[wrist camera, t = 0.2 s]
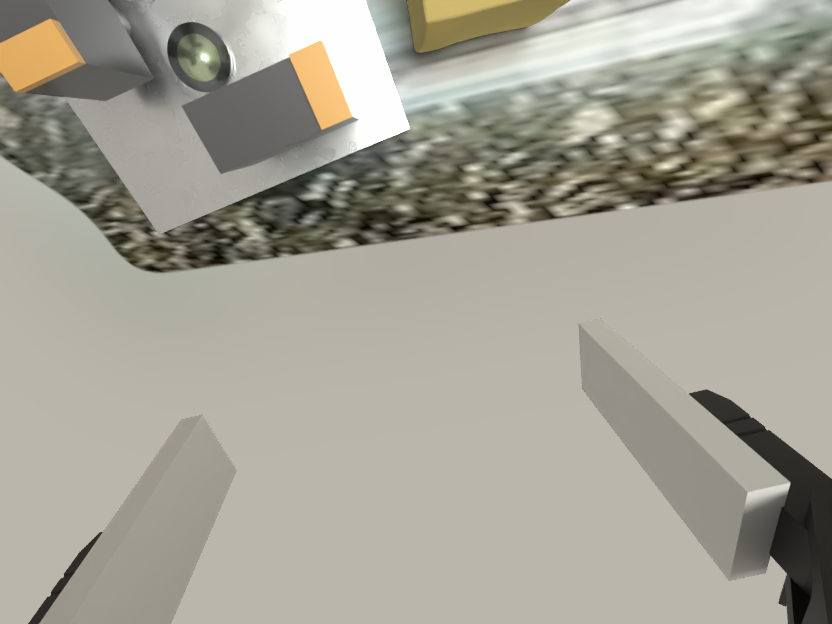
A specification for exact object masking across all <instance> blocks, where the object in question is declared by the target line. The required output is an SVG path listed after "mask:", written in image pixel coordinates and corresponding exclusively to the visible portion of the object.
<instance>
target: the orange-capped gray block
mask: <svg viewBox="0 0 832 624" xmlns="http://www.w3.org/2000/svg"><path fill="white" fill-rule="evenodd" d="M182 108H183V110H184V112H185V113H186V115H187V117H188V118H189V120H190V122H191V124H192V125H193V127H194V129H195V131H196V132H197V134H198V136H199V138H200V139H201V141H202V143H203V145H204V146H205V148H206V150H207V151H208V153H209V155H210V157H211V158H212V160H213V162H214V164H215V165H216V167H217V169H218V171H219V172H220V174H223V173H226V172H230V171H234V170H237V169H241V168H244V167H248V166H252V165H255V164H257V163H260V162H262V161H264V160H267V159H269V158H271V157H274V156H276V155H278V154H281V153H283V152H285V151H288V150H290V149H292V148H295V147H297V146H299V145H302V144H304V143H306V142H309V141H311V140H313V139H316V138H318V137H320V136H323V135H325V134H327V133H330V132H332V131H334V130H337V129H339V128H341V127H344V126H346V125H348V124H351V123H353V122H355V121H358V120H360V119H359V116H358V114H357V111H356V109H355V106H354V104H353V101H352V99H351V96H350V94H349V91H348V89H347V86H346V84H345V81H344V79H343V76H342V74H341V71H340V69H339V66H338V63H337V61H336V60H335V58H334V57H333V55H332V54H331V53H330V51H329V50H328V48H327V47H326V45H325V44H324V42H323V41H322V40H320V41H317V42H315V43H313V44H311V45H309V46H306V47H304V48H302V49H300V50H297V51H295V52H293V53H291V54H289V57H288V58H286V59H284V60H282V61H280V62H277V63H275V64H273V65H271V66H269V67H266V68H264V69H262V70H260V71H257V72H255V73H253V74H251V75H249V76H246V77H244V78H242V79H240V80H238V81H235V82H233V83H231V84H229V85H226V86H224V87H222V88H220V89H218V90H215V91H213V92H211V93H209V94H207V95H204V96H202V97H200V98H198V99H195V100H193V101H191V102H189V103H187V104H184V105H182Z"/></svg>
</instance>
